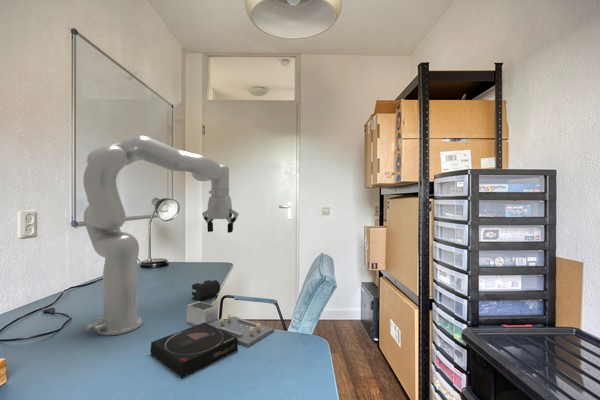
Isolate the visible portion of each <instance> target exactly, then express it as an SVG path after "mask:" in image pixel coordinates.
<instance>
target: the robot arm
mask: <svg viewBox="0 0 600 400" xmlns="http://www.w3.org/2000/svg"><path fill="white" fill-rule="evenodd" d="M138 161H144V162H147V163H150V164H152V165H156V166H158V167H161V168H164V169H167V170H169V171H176V172H188V173H191V176H192V177H193V179H195V180H196V181H199V182H208V181H210V182H211V184H210V185H211V188H210V189H211V190H209V191H208V193H209V194H210V195H211V196H209V197H208V202H207V208H206V209H207V210H205V211H203V212H202V217H203V219H204V221H205V222H206V224H207V227H206V228H207V232H208V233H212V232H213V231H214V223H213V221H214V220H226V221H227V222H228V223H227V234H229V233H233V231H234V224H235V222H236V221H237V220H238V216H239V215H240V213H239V212H237V211H235V210H234V209H233V206H232V205H233V204H232V199H231V196H230V167H229V166H228V165H225V164H220V163H218V162H217V161H215V160H213V159H211V158H208V157H206V156H204V155H200V154H198V153H193V152H190V151H186V150H183V149H178V148H176V147H173V146H171V145H169V144H166V143H164V142H162V141H159V140H157V139H154V138H152V137H151V136H147V135H142V134H139V135H138V134H137V135H134V136H132V137H129V138H126V139H124V140H121V141H118V142H114V143H112V144H108V145H105V146H102V147H99V148H96V149H93V150H92V151H90V153H88V154H87V159H86V162H87V165H86V167H85V170H84V173H83V180H82V181H83V182H82V183H83V188H84V192H85V195H86V199H87V202H88V206H87V207H86V208H85V210H84V212H83V223H84V225H85V229H86V232H87V233H88V234H87V235H88V236H89V237H88V238H89V240H90V242H91V245H92V247H93V249H94V251H95V252H96V253H97V255H99V256H100V257H102V258H105V259H104V266H103V270H102V296H103V297H102V307H103V308H102V312H103V313H102V316H99V319H97V320H96V321H95V322H90V323H88V324H85V325H84V327H85V331H86V332H89V331H92V330H94V331H96V332H97V333H98V335H101V336H117V335H123V334H126V333H129V332H132V331H134V330H136V329H138V328H139V327H140V326H141V325H142V323H143V320H142V318H141V317H140V316H138V305H137V304H138V303H137V302H138V299H137V298H138V296H137V295H138V292H137V290H138V288H137V287H138V286H137V285H138V284H137V283H138V282H137V281H138V278H137V273H138V272H137V271H138V269H137V268H138V259H139V254H140V253H139V252H140V244H139V241H138V239H137V238H136V237H135V236H134V235H132V234H131V233H128V232H124V231H121V227H122V226H124V224H125V222H126V219H127V218H126V217H127V216H126V211H125V208H124V206H123V202H122V200H121V197H120V194H119V189H118V186H117V178H118V174H119V173H120V172H121V171H122V170H123V168H125V167H126V166H128V165H130V164H133V163H135V162H138Z"/></svg>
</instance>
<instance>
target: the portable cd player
mask: <svg viewBox="0 0 600 400" xmlns="http://www.w3.org/2000/svg"><path fill="white" fill-rule="evenodd" d="M213 326H214V325H213ZM213 326H211V325H209V324H207V323H205V322H204V323H202V324H199V325H193V326H191V327H188V328H186V329H183V330H180V331H178V332H175V333H172V334H170V335H167V336H164V337H161V338H158V339H156V340H154V341H151V342H150V351H149V352H150V355H151V356H152V357H153V358H155V360H157V361H159V362H160V363H161V364H163V365H164V366H165V367H167V368H168V369H169V370H171V371H172V372H173V373H175V374H176V375H177V376H179V378H181V379H184V378H186V377H188V376H189V375H192V374H194V373H196V372H198V371H199V370H202V369H204V368H205V367H208V366H210V365H211V364H213V363H215V362H217V361H219V360H222V359H223V358H226V357H227V356H229V355H231V354H234V353H235V352H237V351H239V349H238V346H239V344H238V338H237V337H235V336H233V335H230V334H228V333H226V332H224V331H222V330H220V329H218V328H216V327H213Z"/></svg>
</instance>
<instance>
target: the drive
mask: <svg viewBox="0 0 600 400" xmlns="http://www.w3.org/2000/svg"><path fill="white" fill-rule="evenodd" d="M218 310H219V308H218V305H214V304H210V303H207V302H204V301H202V300H199V301H197V300H196V301H195V302H191V303H189V304H186V323H189V324H191V325H193V326H196V325H199V324H202V323H204V322H205V323H207V324H209V325H211V326H214V325H216V324H218V323H219V321H218V314H219V313H218Z"/></svg>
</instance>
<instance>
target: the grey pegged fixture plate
mask: <svg viewBox="0 0 600 400" xmlns="http://www.w3.org/2000/svg"><path fill="white" fill-rule="evenodd" d="M230 323H231V324H230ZM235 324H236V325H235ZM240 325H242V326H240ZM246 326H248V327H246ZM213 327H216V328H218V329H220V330H222V331H224V332H226V333H228V334H230V335H233V336H235V337H237V338H238V345H241V346H243V347H246V348H249V347H252V345H254V344H256V343H258V342H259V341H261V340H262V339H264V338H265V337H267V336H269V335H270V334H272V333H274V332H275V331H274V329H275V328H274V327H271V326H268V325H265V324H261V323H260V322H254V321H251V320H248V319H244V318H241V317H237V316H234V315H233V316H232V314H230V313H229V314H227V319H225V317H220V322H218V324H216V325H213ZM254 327H256V328H254ZM262 328H264V329H262ZM270 329H272V330H270Z"/></svg>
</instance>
